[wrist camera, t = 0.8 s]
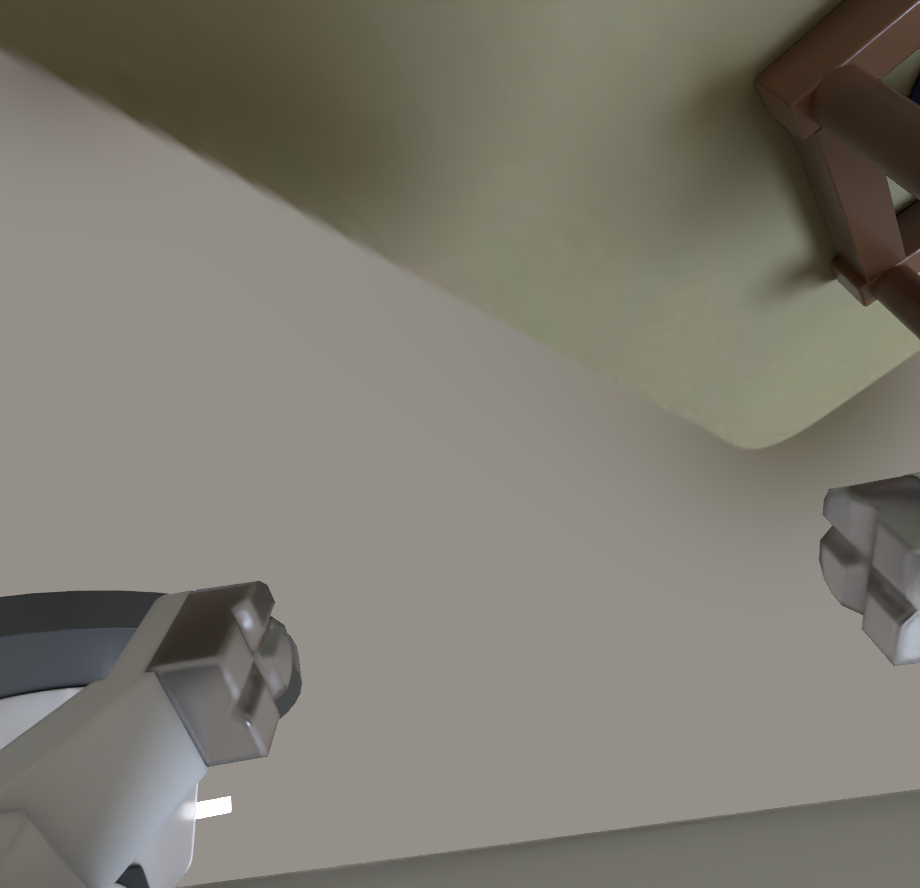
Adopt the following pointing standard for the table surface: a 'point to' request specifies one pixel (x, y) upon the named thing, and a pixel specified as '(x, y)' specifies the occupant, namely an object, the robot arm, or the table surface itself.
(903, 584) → the robot arm
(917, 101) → the toy lamp
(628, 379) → the table surface
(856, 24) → the rack
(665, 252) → the table surface
